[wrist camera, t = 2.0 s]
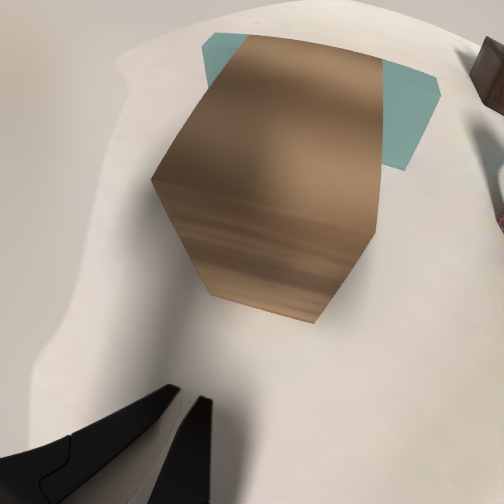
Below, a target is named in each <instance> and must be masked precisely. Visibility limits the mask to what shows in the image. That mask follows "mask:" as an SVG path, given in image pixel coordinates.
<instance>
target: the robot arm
mask: <svg viewBox="0 0 504 504" xmlns="http://www.w3.org/2000/svg"><path fill="white" fill-rule="evenodd" d="M181 406H182V389H181V388H180V387H177V386H175V385H172V384H167V385H165V386H163V387H161V388H159V389H157V390H156V391H154V392H152V393H150V394H148V395H147V396H145V397H143V398H141V399H139V400H137V401H135V402H134V403H132V404H130V405H128V406H126V407H124V408H122V409H120V410H118V411H116V412H114V413H112V414H111V415H109V416H107V417H105V418H103V419H101V420H99V421H97V422H95V423H93V424H91V425H89V426H86V427H84V428H82V429H80V430H78V431H76V432H74V433H72V434H71V435H67V436H65V437H63V438H61V439H59V440H56V441H54V442H52V443H49V444H47V445H44V446H41V447H38V448H35V449H32V450H29V451H25V452H22V453H18V454H14V455H11V456H7V457H3V458H0V504H127V503H128V502H129V500H130V499H131V497H132V496H133V494H134V493H135V491H136V490H137V488H138V487H139V485H140V484H141V482H142V481H143V479H144V478H145V476H146V475H147V473H148V472H149V470H150V469H151V467H152V466H153V464H154V463H155V461H156V460H157V458H158V456H159V455H160V453H161V451H162V449H163V447H164V445H165V443H166V441H167V439H168V436H169V434H170V432H171V430H172V428H173V426H174V423H175V421H176V419H177V417H178V415H179V413H180V410H181ZM212 424H213V400H212V399H210V398H207V397H204V396H199V397H198V398H197V399H196V401H195V403H194V404H193V406H192V407H191V409H190V410H189V412H188V413H187V415H186V416H185V418H184V420H183V421H182V423H181V424H180V426H179V428H178V430H177V432H176V435H175V437H174V440H173V442H172V445H171V447H170V450H169V452H168V454H167V457H166V459H165V462H164V464H163V467H162V469H161V472H160V474H159V476H158V479H157V481H156V484H155V486H154V489H153V491H152V494H151V496H150V499H149V501H148V503H147V504H211V503H210V501H211V457H212Z"/></svg>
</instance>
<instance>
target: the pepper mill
mask: <svg viewBox="0 0 504 504" xmlns="http://www.w3.org/2000/svg"><path fill="white" fill-rule="evenodd" d="M470 76H471V78H472V81H473V83H474V85H475V87H476V89H477V91H478V94H479V96H480V98H481V100H482V102H483V104H484V105H485V106H487V107H489V108H491V109H493V110H494V111H496V112H498V113H500V114H502V115H503V116H504V45H502V44H500V43H499V42H497V41H495V40H493V39H491V38H489V37H488V36H486V38H485V40H484V42H483V45H482V47H481V49H480V52H479V54H478V56H477V59H476V61H475V63H474V66H473V68H472V70H471V72H470Z"/></svg>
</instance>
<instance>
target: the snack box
mask: <svg viewBox="0 0 504 504" xmlns="http://www.w3.org/2000/svg"><path fill="white" fill-rule="evenodd" d="M497 221H498V223H499V225H500V227H501V229H502V230H503V232H504V213H503V214H502V215H501V216H500V217H499V218H498V219H497Z"/></svg>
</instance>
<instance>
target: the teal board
mask: <svg viewBox="0 0 504 504" xmlns="http://www.w3.org/2000/svg"><path fill="white" fill-rule="evenodd" d="M248 36H249V35H248V34H233V33H214V34H213V35H212V36H211V37H210V38H209V39H208V40H207V41H206V42H205V43H204V44H203V45H202V52H203V58H204V64H205V70H206V76H207V82H208V88H209V87H210V86H211V84H212V83H213V82H214V80H215V79H216V77H217V76H218V75H219V73H220V72H221V71H222V69H223V68H224V67H225V65H226V64H227V63H228V61H229V60H230V59H231V57H232V56H233V55H234V53H235V52H236V51H237V50H238V48H239V47H240V46H241V45H242V43H243V42H244V41H245V40H246V38H247V37H248ZM292 40H293V39H292ZM382 63H383V144H382V164H385V165H388V166H391V167H394V168H398V169H401V170H404V171H405V169H406V167H407V165H408V163H409V161H410V159H411V157H412V155H413V153H414V151H415V149H416V147H417V145H418V143H419V141H420V139H421V137H422V135H423V133H424V131H425V129H426V127H427V125H428V123H429V121H430V118H431V116H432V114H433V112H434V110H435V108H436V105H437V103H438V101H439V99H440V96H441V94H440V90H439V86H438V83H437V79H436V77H434V76H431V75H428V74H426V73H423V72H420V71H417V70H415V69H412V68H409V67H406V66H403V65H400V64H397V63H394V62H390V61H387V60H384V59H382Z"/></svg>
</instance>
